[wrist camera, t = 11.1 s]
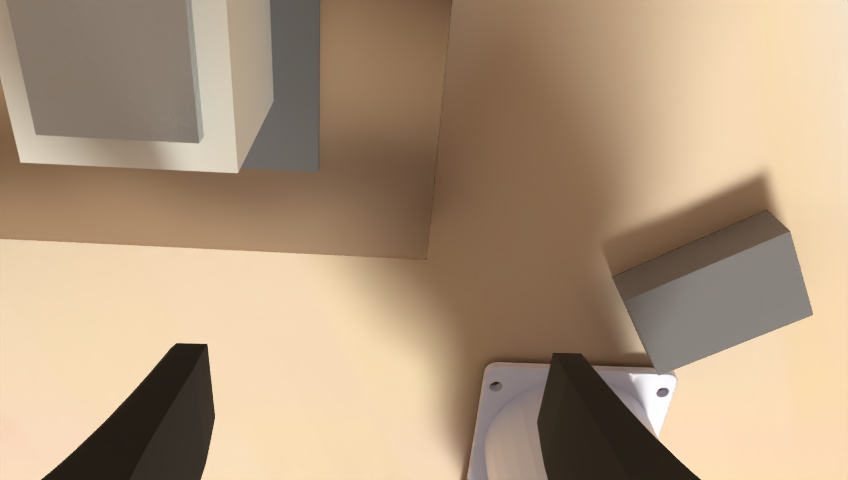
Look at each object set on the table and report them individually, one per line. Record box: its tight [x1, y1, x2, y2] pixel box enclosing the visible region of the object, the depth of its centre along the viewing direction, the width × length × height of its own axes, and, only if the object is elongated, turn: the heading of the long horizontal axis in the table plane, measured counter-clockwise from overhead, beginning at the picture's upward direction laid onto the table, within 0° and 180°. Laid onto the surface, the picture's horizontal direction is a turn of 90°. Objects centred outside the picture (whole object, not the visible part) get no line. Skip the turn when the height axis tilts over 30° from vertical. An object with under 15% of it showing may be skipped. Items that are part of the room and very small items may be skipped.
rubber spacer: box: [612, 210, 813, 376], centre depth 25 cm, size 4×6×2 cm, turn 117°
